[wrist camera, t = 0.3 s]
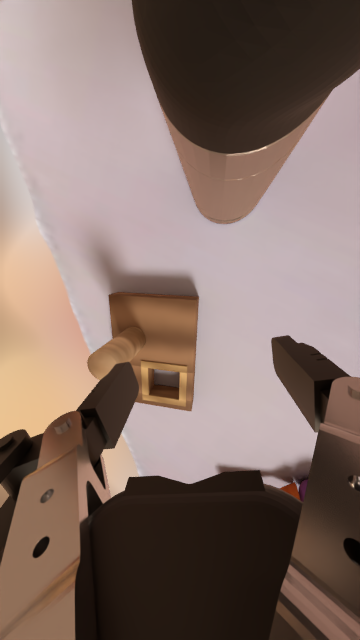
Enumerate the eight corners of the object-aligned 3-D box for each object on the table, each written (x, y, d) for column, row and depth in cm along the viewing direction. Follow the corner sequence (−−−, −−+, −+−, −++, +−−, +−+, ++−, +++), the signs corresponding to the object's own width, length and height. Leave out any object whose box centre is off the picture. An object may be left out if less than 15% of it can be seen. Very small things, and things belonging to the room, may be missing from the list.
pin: (122, 325, 30) (85, 350, 22) (145, 327, 29) (116, 353, 21) (124, 347, 31) (89, 379, 23) (146, 350, 30) (119, 383, 22)
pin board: (118, 292, 32) (107, 295, 29) (198, 296, 29) (196, 300, 26) (125, 389, 38) (117, 399, 35) (193, 399, 35) (190, 412, 32)
